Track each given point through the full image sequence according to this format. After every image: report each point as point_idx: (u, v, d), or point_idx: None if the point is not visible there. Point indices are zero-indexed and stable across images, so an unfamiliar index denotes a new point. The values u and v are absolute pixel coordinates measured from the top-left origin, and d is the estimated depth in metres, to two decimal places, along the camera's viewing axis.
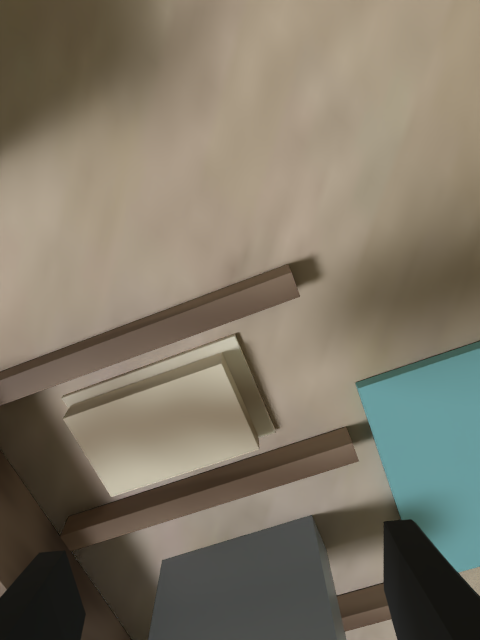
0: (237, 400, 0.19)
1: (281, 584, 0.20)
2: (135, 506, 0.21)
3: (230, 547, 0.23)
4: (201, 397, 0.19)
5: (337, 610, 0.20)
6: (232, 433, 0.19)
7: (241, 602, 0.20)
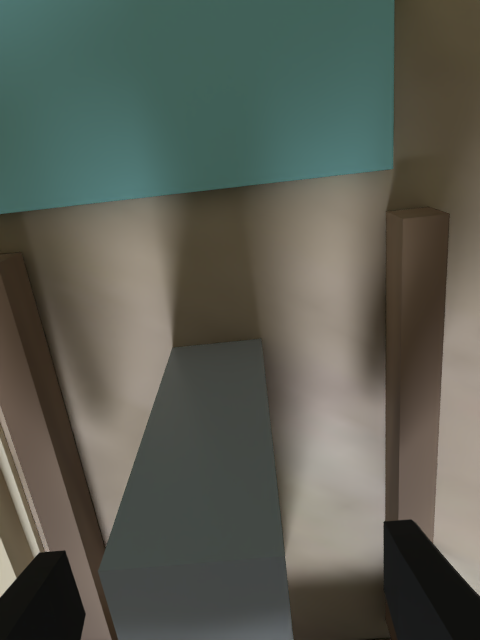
0: None
1: None
2: None
3: None
4: None
5: (234, 418, 0.09)
6: None
7: None
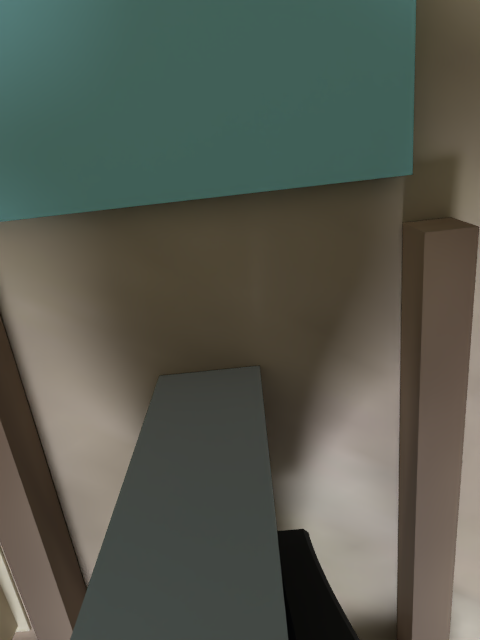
0: None
1: None
2: None
3: None
4: None
5: (228, 474, 0.07)
6: None
7: None
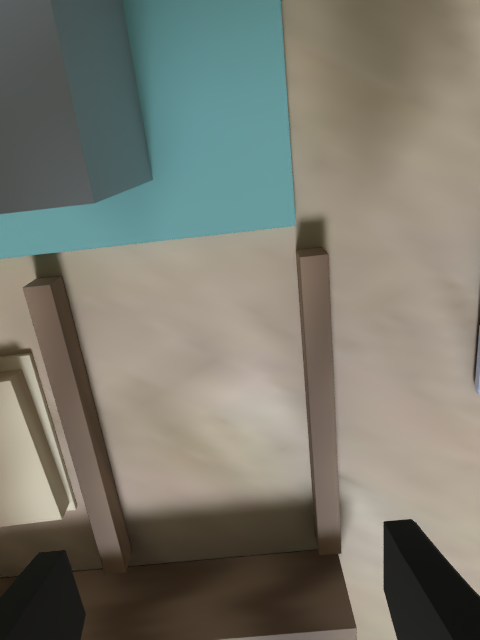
0: None
1: None
2: None
3: None
4: None
5: None
6: None
7: None
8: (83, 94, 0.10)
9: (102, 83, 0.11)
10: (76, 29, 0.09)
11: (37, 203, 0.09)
